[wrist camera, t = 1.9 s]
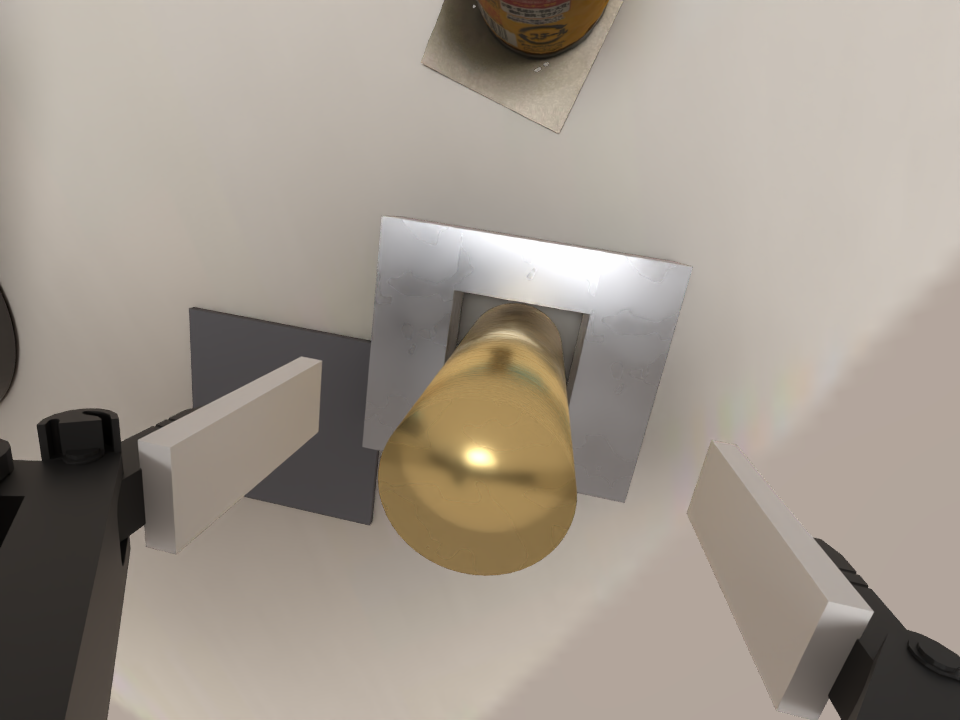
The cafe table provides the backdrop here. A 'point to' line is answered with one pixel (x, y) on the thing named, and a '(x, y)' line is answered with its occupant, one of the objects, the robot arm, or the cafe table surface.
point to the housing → (535, 280)
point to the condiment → (521, 50)
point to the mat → (338, 444)
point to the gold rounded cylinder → (487, 451)
